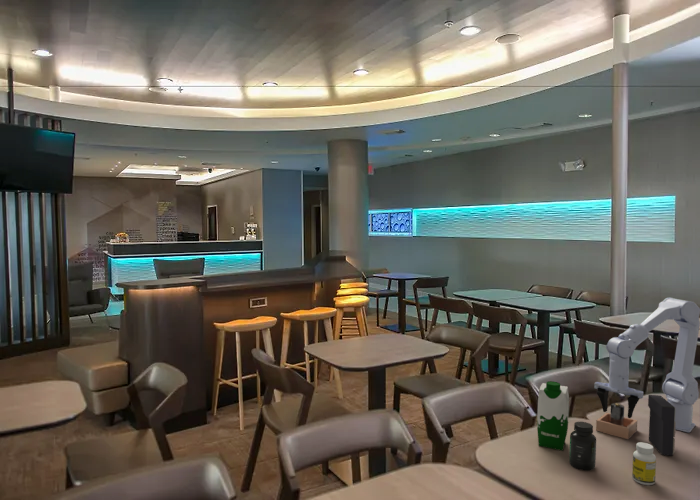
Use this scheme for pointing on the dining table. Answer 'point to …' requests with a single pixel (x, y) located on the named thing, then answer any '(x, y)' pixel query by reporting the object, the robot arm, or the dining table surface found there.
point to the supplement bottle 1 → (582, 447)
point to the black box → (662, 424)
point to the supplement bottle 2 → (644, 464)
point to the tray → (616, 426)
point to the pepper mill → (617, 414)
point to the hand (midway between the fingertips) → (617, 414)
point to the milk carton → (552, 415)
